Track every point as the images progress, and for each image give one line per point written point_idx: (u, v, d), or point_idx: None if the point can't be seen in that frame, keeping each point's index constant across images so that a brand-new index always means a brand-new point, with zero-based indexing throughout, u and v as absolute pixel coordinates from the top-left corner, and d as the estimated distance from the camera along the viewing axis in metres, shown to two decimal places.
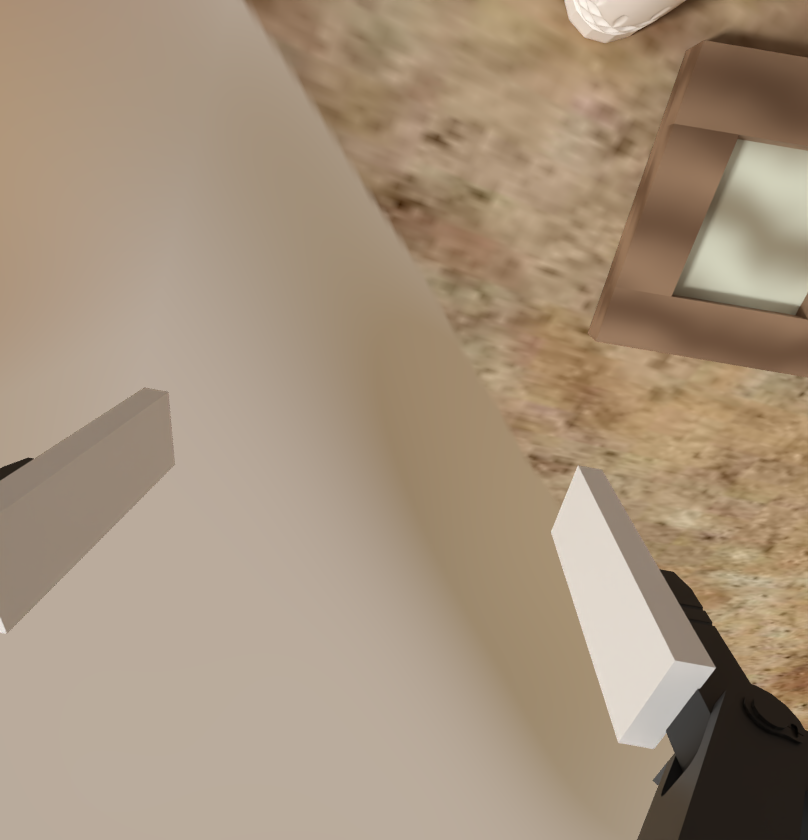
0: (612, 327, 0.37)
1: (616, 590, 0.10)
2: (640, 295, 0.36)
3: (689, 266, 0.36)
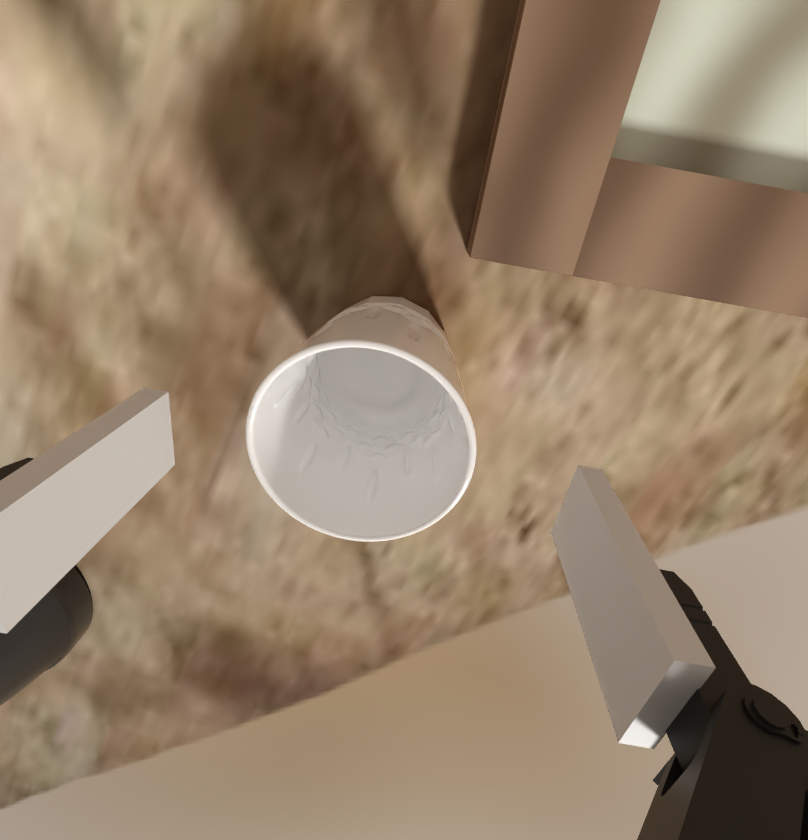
0: None
1: (616, 590, 0.10)
2: None
3: None
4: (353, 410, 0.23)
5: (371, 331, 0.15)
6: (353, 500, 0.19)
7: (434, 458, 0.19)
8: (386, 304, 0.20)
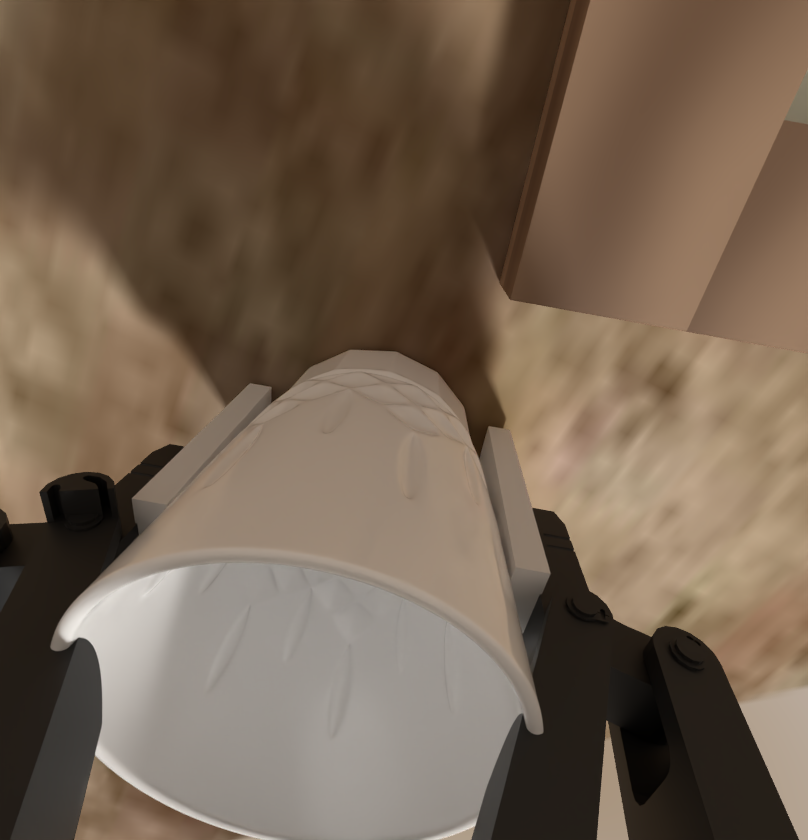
0: None
1: None
2: None
3: None
4: None
5: (313, 495, 0.07)
6: (304, 730, 0.11)
7: (447, 650, 0.11)
8: (367, 377, 0.12)
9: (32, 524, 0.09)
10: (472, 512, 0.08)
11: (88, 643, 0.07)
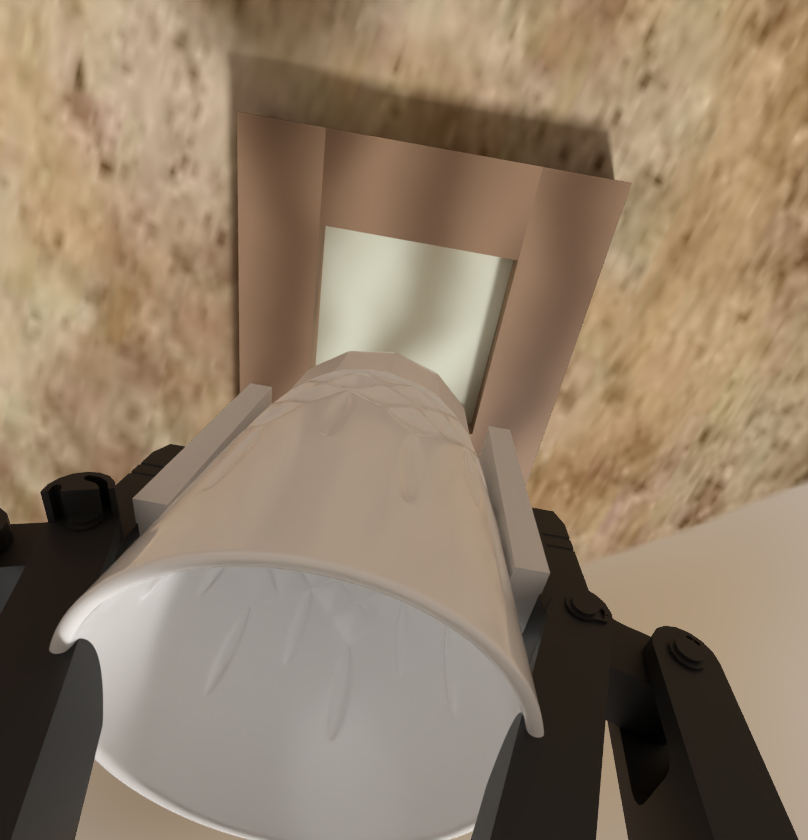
0: None
1: None
2: None
3: None
4: None
5: (313, 498, 0.07)
6: (304, 732, 0.10)
7: (447, 652, 0.11)
8: (367, 379, 0.12)
9: (33, 524, 0.09)
10: (472, 514, 0.08)
11: (89, 643, 0.07)
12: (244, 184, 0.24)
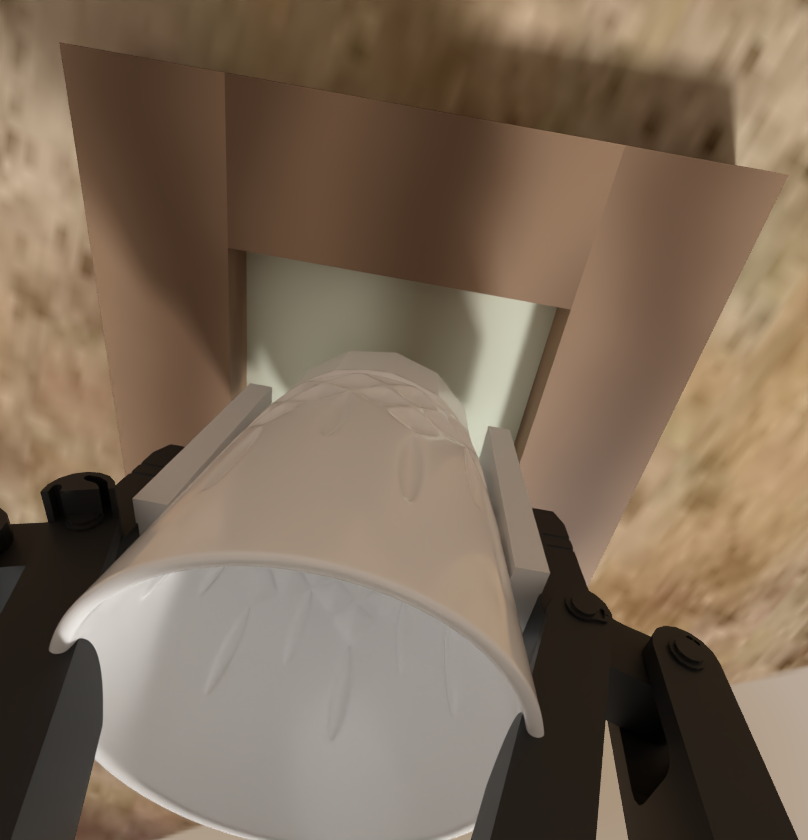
0: None
1: None
2: None
3: None
4: None
5: (313, 498, 0.07)
6: (303, 732, 0.10)
7: (447, 652, 0.11)
8: (367, 378, 0.12)
9: (33, 524, 0.09)
10: (472, 514, 0.08)
11: (89, 643, 0.07)
12: (92, 177, 0.13)
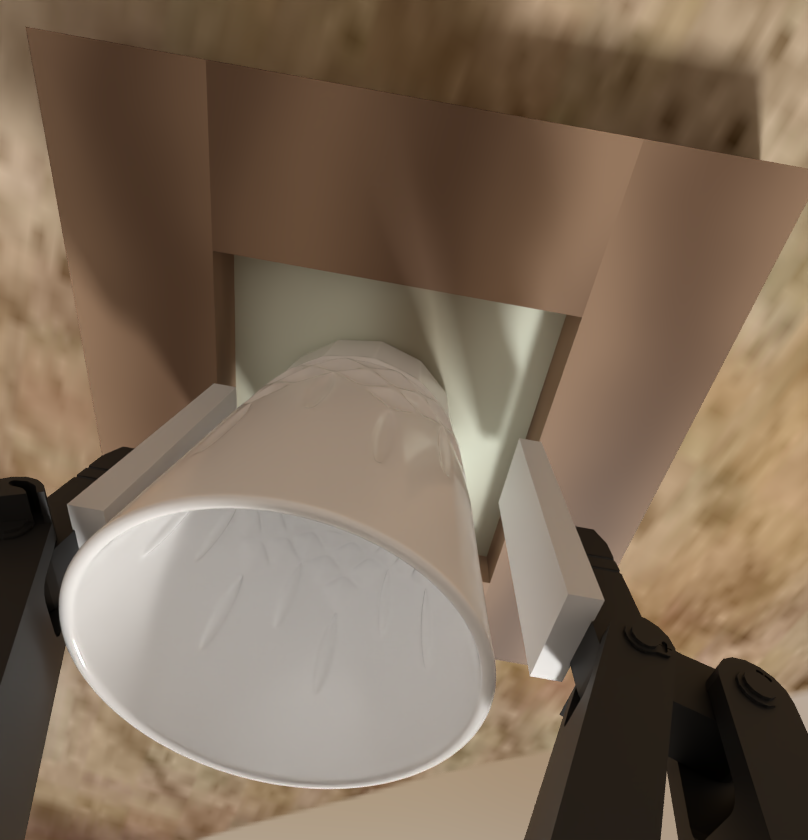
0: None
1: (536, 543, 0.11)
2: None
3: None
4: None
5: (292, 456, 0.07)
6: (291, 687, 0.11)
7: (424, 615, 0.12)
8: (351, 363, 0.12)
9: None
10: (440, 479, 0.09)
11: (25, 651, 0.07)
12: (65, 175, 0.12)
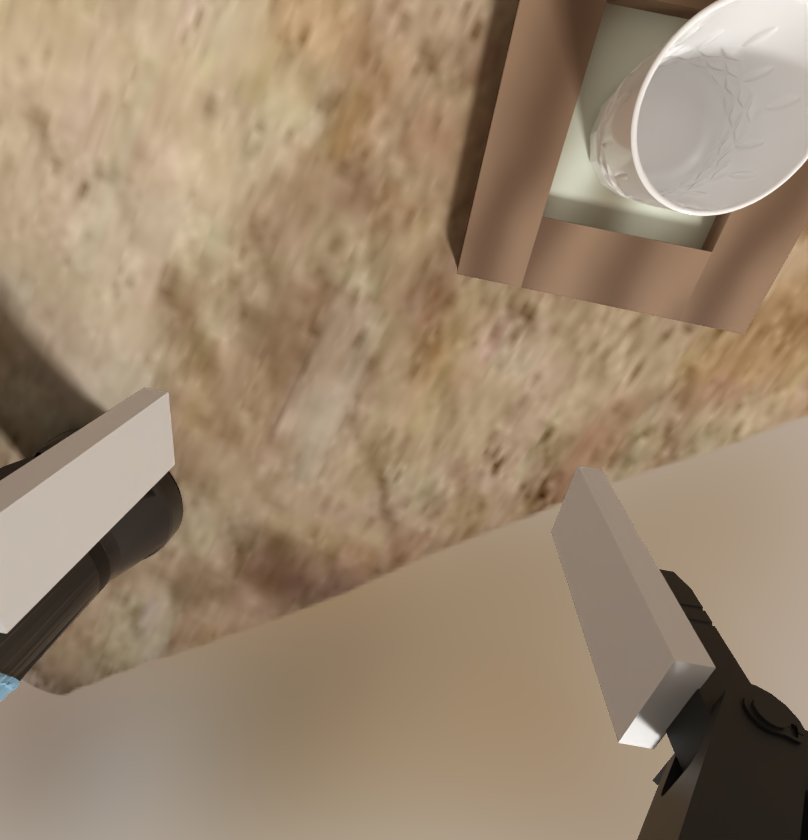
0: (731, 317, 0.30)
1: (616, 590, 0.10)
2: (698, 290, 0.30)
3: (674, 222, 0.29)
4: None
5: None
6: None
7: (737, 174, 0.22)
8: None
9: None
10: None
11: None
12: None
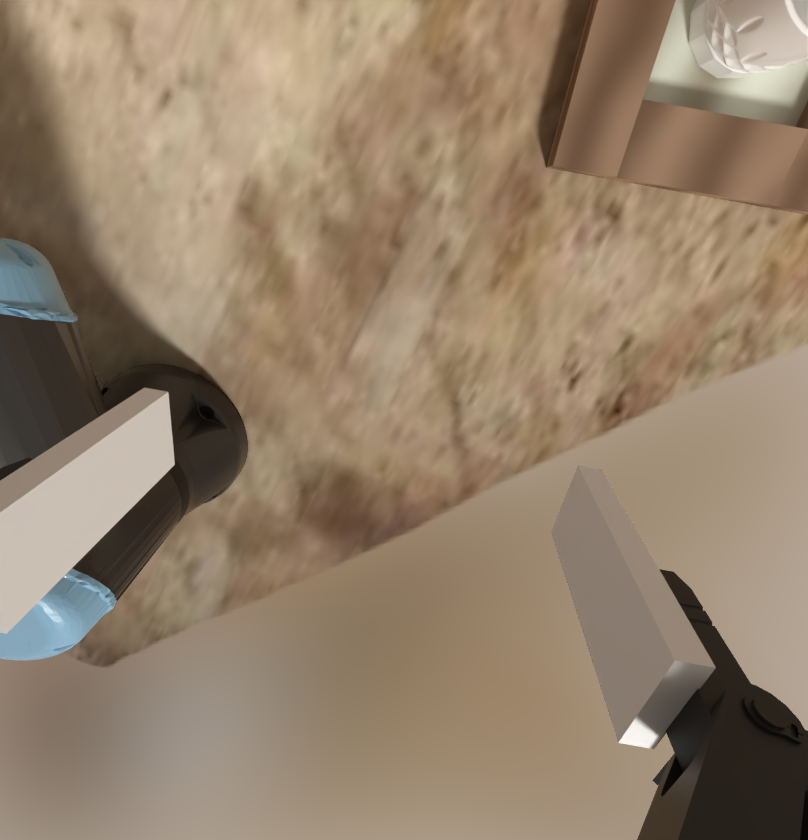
0: None
1: (616, 590, 0.10)
2: (793, 171, 0.30)
3: (768, 105, 0.30)
4: None
5: None
6: None
7: None
8: None
9: None
10: None
11: None
12: None
